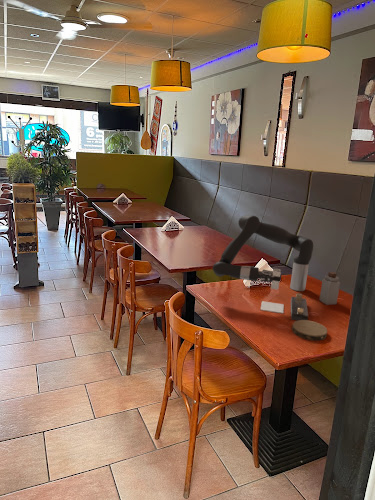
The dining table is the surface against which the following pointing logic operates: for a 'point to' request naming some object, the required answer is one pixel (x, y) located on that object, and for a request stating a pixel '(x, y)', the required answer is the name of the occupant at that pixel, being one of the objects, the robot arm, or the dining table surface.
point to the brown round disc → (309, 330)
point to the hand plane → (299, 308)
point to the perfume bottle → (330, 289)
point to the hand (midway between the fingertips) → (280, 277)
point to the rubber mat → (272, 307)
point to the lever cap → (277, 274)
